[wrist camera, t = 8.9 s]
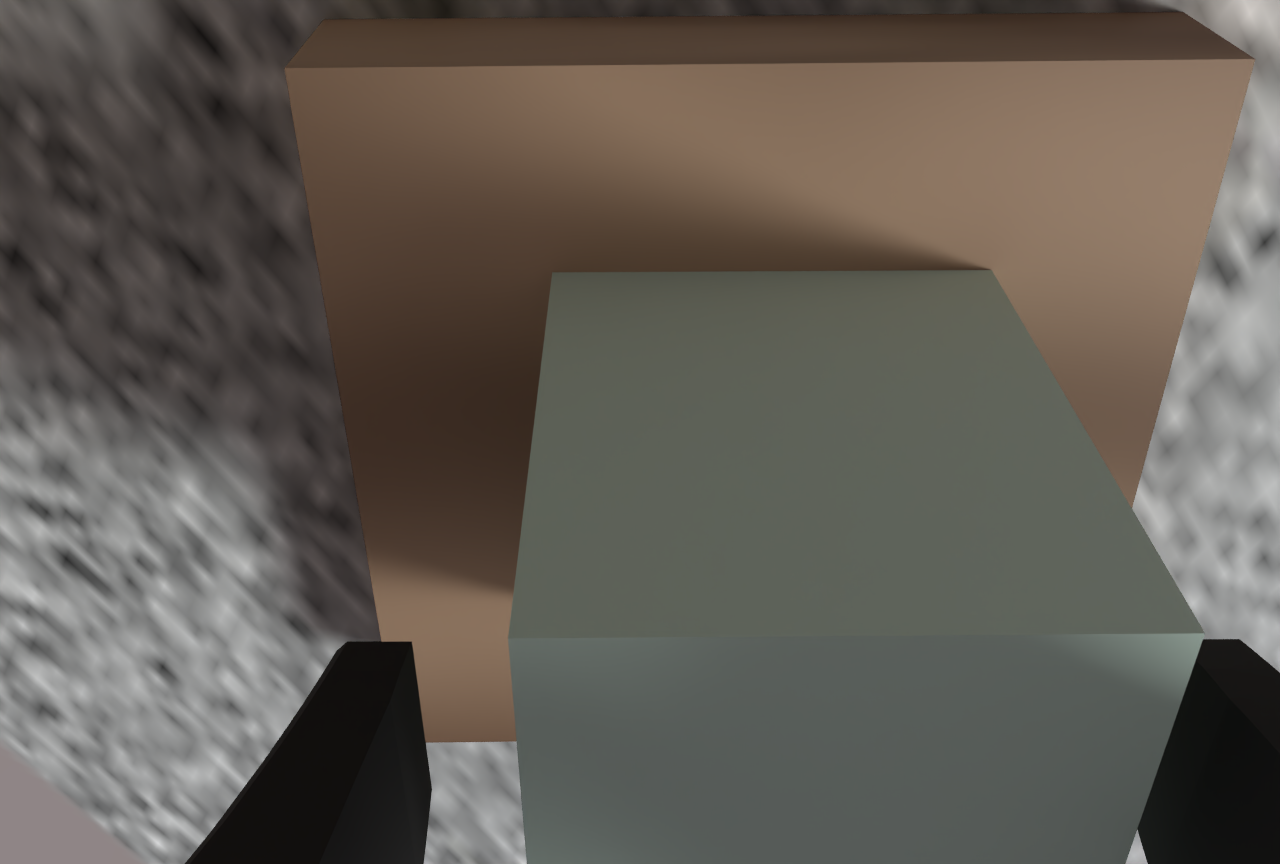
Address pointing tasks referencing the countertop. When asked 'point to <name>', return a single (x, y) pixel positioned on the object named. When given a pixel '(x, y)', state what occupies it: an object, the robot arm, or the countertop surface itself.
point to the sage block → (827, 583)
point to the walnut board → (717, 231)
